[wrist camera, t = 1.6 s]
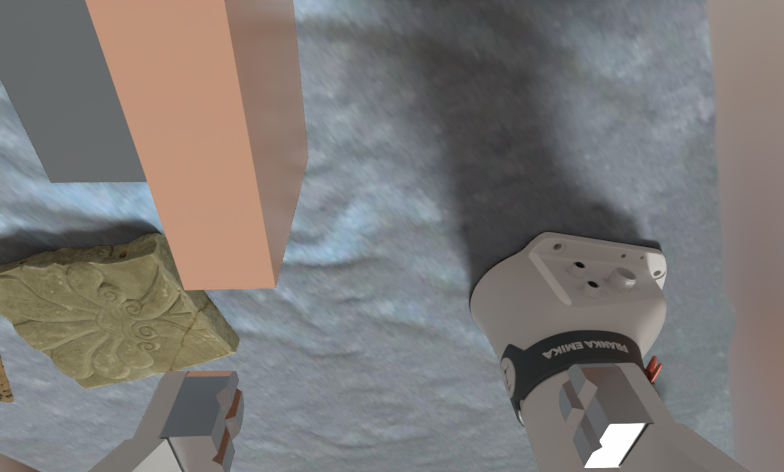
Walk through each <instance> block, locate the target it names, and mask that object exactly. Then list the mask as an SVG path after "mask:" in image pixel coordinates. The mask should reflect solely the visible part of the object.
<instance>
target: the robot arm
mask: <svg viewBox="0 0 784 472" xmlns="http://www.w3.org/2000/svg"><path fill="white" fill-rule="evenodd" d="M556 244H558V245H557V246H555V245H556ZM665 277H666V260H665V257H664V255H663V254H662V252H661V251H660V250H658V249H654V248H648V247H642V246H636V245H630V244H623V243H617V242H611V241H604V240H598V239H592V238H585V237H579V236H573V235H566V234H560V233H554V232H545V233H542V234H540V235H538V236H537V237H536V238H535V239H533V240H532V241H531V242H530V243H529V244H528V245H527V246H526V247H525V248H524V249H523V250H522V251H520V252H519V253H517V254H515V255H513V256H511V257H509V258H507V259H505V260H504V261H502V262H500V263H499V264H497V265H496V266H494V267H493V268H492V269H491V270H489V271H488V272H487V273H486V274H485V275H484V276H483V277H482V279H481V280H480V281H479V283H478V284H477V286H476V287H475V289H474V292H473V294H472V297H471V303H470V308H471V314H472V317H473V319H474V321H475V323H476V324H477V325H478V326H479V327H480V329H481V330H482V331H483V333H484V334H485V336H486V337H487V339H488V340H489V342H490V344H491V346H492V347H493V349H494V351H495V353H496V355H497V357H498V359H499V362H500V364H501V373H502V378H503V382H504V385H505V388H506V391H507V394H508V396H509V398H510V400H511V403H512V406H513V408H514V411H515V414H516V416H517V419H518V421H519V422H520V423H521V425H522V426H524V427H525V429H526V432H527V435H528V438H529V441H530V444H531V447H532V450H533V453H534V455H535V458H536V461H537V464H538V467H539V470H540V472H750V471H749V470H747V469H746V468H745V467H743V466H742V465H740V464H739V463H738V462H736V461H735V460H733V459H732V458H731V457H729V456H728V455H726V454H725V453H724V452H722V451H721V450H719V449H718V448H717V447H715V446H714V445H712V444H711V443H710V442H708V441H707V440H705V439H704V438H703V437H701V436H700V435H698V434H697V433H696V432H694V431H693V430H691V429H690V428H689V427H687V426H686V425H684V424H681V423H676V421H675V420H674V418H673V417H672V415H671V414H670V412H669V411H668V409H667V408H666V406H665V405H664V403H663V402H662V400H661V399H660V397H659V396H658V394H657V393H656V391H655V390H654V386H655V383H654V379H655V378H656V376H657V374H658V373H659V371H660V369H661V366H662V364H661V363H660V364H658V365H657V367H656V362H657V357H656V356H653V357H652V359H651V360H650V362H649V364H648V366H647V368H646V369H645V368H644V366H643V361H642V358H643V357H644V356H645V354H646V353H647V352H648V350H649V349H650V348H651V346H652V345H653V343H654V341H655V340H656V338H657V336H658V335H659V333H660V331H661V328H662V326H663V323H664V320H665V316H666V308H667V306H666V299H665V297H664V294H663V292H662V287H663V285H664V281H665ZM655 367H656V368H655ZM238 381H239V379H238V376H237V373H236V371H167V372H166V374H165V375H164V376H163V377H162V378H161V380H160V382H159V384H158V386H157V389H156V391H155V393H154V395H153V397H152V399H151V401H150V403H149V405H148V408H147V410H146V412H145V414H144V416H143V418H142V420H141V422H140V424H139V427H138V429H137V431H136V433H135V435H134V437H133V439H130V440H125V441H123V442H122V443H121V444H120V445H119V446H117V447H116V448H115V449H114V450H113V451H112V452H110V453H109V454H108V455H107V456H106V457H105V458H103V459H102V460H101V461H100V462H99V463H98V464H96V465H95V466H94V467H93V468H92V469H91V470H89V471H88V472H230V468H231V464H232V460H233V456H234V453H235V450H234V446H233V443H232V440H233V439H234V438H235V437H236V436H237V435H238V433H239V432H240V429H241V425H242V420H243V412H244V399H243V394H242V391H240V390H239V389H237V385H238Z"/></svg>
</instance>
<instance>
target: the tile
mask: <svg viewBox="0 0 784 472" xmlns="http://www.w3.org/2000/svg"><path fill="white" fill-rule="evenodd" d="M85 1H86V4H87V7H88V10H89V13H90V16H91V19H92V22H93V25H94V28H95V30H96V33H97V36H98V39H99V42H100V45H101V48H102V51H103V54H104V57H105V60H106V63H107V65H108V68H109V71H110V74H111V77H112V80H113V83H114V86H115V89H116V92H117V95H118V98H119V100H120V103H121V106H122V109H123V112H124V115H125V118H126V121H127V124H128V127H129V130H130V133H131V136H132V138H133V141H134V144H135V147H136V150H137V153H138V156H139V159H140V162H141V165H142V168H143V171H144V173H145V176H146V179H147V182H148V185H149V188H150V191H151V194H152V197H153V200H154V203H155V206H156V208H157V211H158V214H159V217H160V220H161V223H162V226H163V229H164V232H165V235H166V238H167V241H168V244H169V246H170V249H171V252H172V255H173V258H174V261H175V264H176V267H177V270H178V273H179V276H180V279H181V281H182V284H183V287H184V290H217V289H259V288H276V285H277V281H278V277H279V273H280V269H281V265H282V261H283V257H284V253H285V249H286V245H287V241H288V237H289V233H290V229H291V225H292V221H293V217H294V213H295V209H296V205H297V201H298V197H299V193H300V189H301V185H302V181H303V178H304V174H305V170H306V166H307V162H308V158H309V157H308V147H307V137H306V126H305V116H304V106H303V96H302V86H301V75H300V65H299V55H298V45H297V34H296V24H295V14H294V4H293V0H85Z"/></svg>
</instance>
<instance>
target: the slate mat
mask: <svg viewBox="0 0 784 472" xmlns="http://www.w3.org/2000/svg"><path fill="white" fill-rule="evenodd" d="M0 79H1V81H2V83H3V85H4V87H5V89H6V91H7V94H8V96H9V98H10V100H11V102H12V104H13V106H14V108H15V110H16V112H17V114H18V116H19V118H20V120H21V122H22V124H23V126H24V128H25V130H26V132H27V135H28V137H29V139H30V141H31V143H32V145H33V147H34V149H35V151H36V153H37V155H38V157H39V159H40V161H41V163H42V165H43V167H44V169H45V171H46V174H47V176H48V178H49V180H50V182H51V183H60V182H147V179H146V176H145V173H144V171H143V168H142V165H141V162H140V159H139V156H138V153H137V150H136V147H135V144H134V141H133V138H132V136H131V133H130V130H129V127H128V124H127V121H126V118H125V115H124V112H123V109H122V106H121V103H120V100H119V98H118V95H117V92H116V89H115V86H114V83H113V80H112V77H111V74H110V71H109V68H108V65H107V63H106V60H105V57H104V54H103V51H102V48H101V45H100V42H99V39H98V36H97V33H96V30H95V28H94V25H93V22H92V19H91V16H90V13H89V10H88V7H87V4H86V1H85V0H0Z"/></svg>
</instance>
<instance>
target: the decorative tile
mask: <svg viewBox="0 0 784 472" xmlns="http://www.w3.org/2000/svg"><path fill="white" fill-rule="evenodd" d="M0 314H1V315H2V316H4V317H5V318H6V319H7V320H8V321H10V322H11V323H12V324H13V326H14V329H15V331H16V332H17V333H18V334H19V336H21V337H22V338H23V339H24V340H25V342H27V343H28V344H29V345H30V346H31V347H32V348H34V349H36V350H39V351H42V352H43V353H45V354H46V355H47V356H49V357H50V358H51V359H52V361H53V363H54V364H55V366H56V367H57V368H58V369H59V370H61V371H62V372H63V373H64V374H66V375H68V376H70V377H73V378H74V379H75V380H76V381H77V382H78V383H79V384H80V385H81V386H82V387H83V388H85V389H89V388H95V387H100V386H106V385H110V384H116V383H121V382H127V381H132V380H136V379H140V378H145V377H149V376H153V375H157V374H161V373H165V372H167V371H177V370H180V369H184V368H188V367H191V366H195V365H198V364H202V363H206V362H209V361H212V360H215V359H219V358H222V357H225V356H229V355H232V354H234V353H235V352H236V350H237V347H238V345H239V341H240V339H239V337H238V336H237V334H236V333H235V332H234V330H233V329H232V328H231V326H230V325H229V324H228V323H227V321H226V320H225V318H224V317H223V315H222V314H221V312H220V311H219V310H218V308H217V307H216V306H215V305H214V303H213V302H212V301H211V300H210V298H209V297H208V295H207V294H206V293H205V291H204V290H184V287H183V284H182V281H181V279H180V276H179V273H178V270H177V267H176V264H175V261H174V258H173V255H172V252H171V249H170V246H169V244H168V241H167V240H166V238H165V237H164V236H163V235H162V234H158V233H151V234H145V235H142V236H140V237H138V238H136V239H134V240H132V241H131V242H130V243H126V244H122V245H114V246H110V245H109V246H100V245H98V246H95V247H93V248H88V249H74V248H69V247H63V248H60V249H58V250H56V251H45V252H43V253H39V254H34V255H32V256H30V257H27V258H25V259H20V260H18V261H12V262H10V263H9V264H1V265H0Z"/></svg>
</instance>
